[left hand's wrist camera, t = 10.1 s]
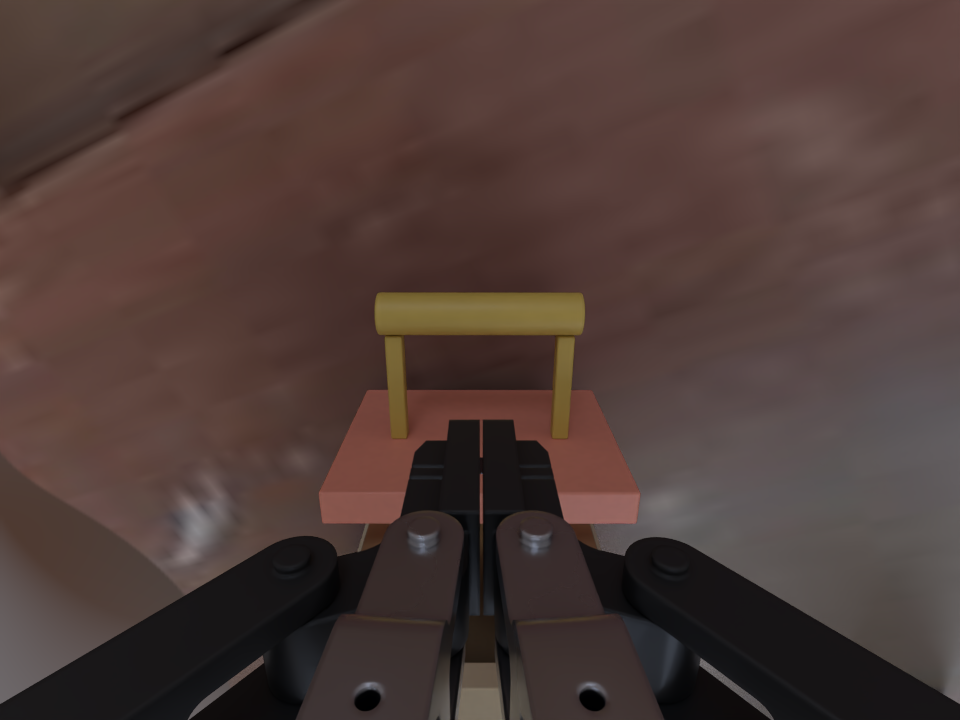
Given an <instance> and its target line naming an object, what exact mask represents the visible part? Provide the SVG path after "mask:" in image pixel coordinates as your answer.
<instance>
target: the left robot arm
mask: <svg viewBox="0 0 960 720" xmlns="http://www.w3.org/2000/svg"><path fill="white" fill-rule="evenodd" d="M483 615H494V620H495V663H496V671H497V680H498V689H499V697H500V706H501V714H502V720H770V719H769V718H768V717H767V716H765V715H764V714H763V713H761V712H760V711H759V710H757V709H756V708H755V707H753V706H752V705H751V704H749V703H748V702H747V701H745V700H744V699H743V698H741V697H740V696H739V695H738V694H736V693H735V692H734V691H732V690H731V689H730V688H728V687H727V686H726V685H724V684H723V683H722V682H720V681H719V680H718V679H716V678H715V677H714V676H713V675H711V674H710V673H709V672H707V671H706V670H705V669H703V668H702V667H701V666H699V664H700V658H702V659H703V660H705V661H706V662H707V663H709V664H710V665H711V666H713V667H714V668H715V669H717V670H718V671H720V672H721V673H722V674H724V675H725V676H726V677H728V678H729V679H730V680H732V681H733V682H734V683H736V684H737V685H738V686H740V687H741V688H742V689H744V690H745V691H746V692H748V693H749V694H750V695H752V696H753V697H754V698H756V699H757V700H758V701H759V702H761V703H762V704H763V705H764V706H765V708H766V709H767V710H768V711H769V712H770V714H771V715H772V717H773V718H774V720H960V704H959V703H957V702H955V701H953V700H952V699H950V698H948V697H947V696H945V695H943V694H942V693H940V692H938V691H936V690H935V689H933V688H931V687H930V686H928V685H926V684H925V683H923V682H921V681H919V680H918V679H916V678H914V677H913V676H911V675H909V674H907V673H906V672H904V671H902V670H901V669H899V668H897V667H896V666H894V665H892V664H890V663H889V662H887V661H885V660H884V659H882V658H880V657H879V656H877V655H875V654H873V653H872V652H870V651H868V650H867V649H865V648H863V647H862V646H860V645H858V644H856V643H855V642H853V641H851V640H850V639H848V638H846V637H845V636H843V635H841V634H839V633H838V632H836V631H834V630H833V629H831V628H829V627H827V626H826V625H824V624H822V623H821V622H819V621H817V620H816V619H814V618H812V617H810V616H809V615H807V614H805V613H804V612H802V611H800V610H799V609H797V608H795V607H793V606H792V605H790V604H788V603H787V602H785V601H783V600H782V599H780V598H778V597H776V596H775V595H773V594H771V593H770V592H768V591H766V590H765V589H763V588H761V587H759V586H758V585H756V584H754V583H753V582H751V581H749V580H747V579H746V578H744V577H742V576H741V575H739V574H737V573H736V572H734V571H732V570H730V569H729V568H727V567H725V566H724V565H722V564H720V563H719V562H717V561H715V560H713V559H712V558H710V557H708V556H707V555H705V554H703V553H702V552H700V551H698V550H696V549H695V548H693V547H691V546H689V545H687V544H685V543H682V542H680V541H677V540H673V539H669V538H661V537H650V538H644V539H641V540H638V541H636V542H634V543H633V544H632V545H630V546H629V548H628V549H627V551H626V554H625V556H622V555H618V554H614V553H609V552H605V551H601V550H598V549H595V548H592V547H590V546H588V545H586V544H584V543H582V542H581V541H579V540H578V539H577V537H576V534H575V532H574V530H573V528H572V527H571V525H570V524H569V523H567V522H566V521H565V520H564V518H563V513H562V509H561V505H560V501H559V496H558V492H557V488H556V483H555V479H554V475H553V471H552V468H551V462H550V458H549V453H548V451H547V450H546V449H545V448H544V447H543V446H542V445H541V444H540V443H539V442H538V441H537V440H516V435H515V427H514V420H513V419H483ZM469 616H480V420H449V425H448V434H447V440H426V441H425V442H424V443H423V444H422V445H421V446H420V447H419V448H418V449H417V450H416V451H415V453H414V457H413V462H412V468H411V471H410V475H409V480H408V484H407V488H406V493H405V497H404V502H403V506H402V511H401V515H400V517H399V518H398V519H396V520H395V521H394V522H393V523H391V524H390V525H389V527H388V528H387V530H386V532H385V534H384V537H383V539H382V542H381V543H380V544H378V545H376V546H374V547H372V548H369V549H367V550H363V551H360V552H355V553H351V554H347V555H342V556H338V557H337V553H336V550H335V548H334V547H333V545H332V544H330V543H329V542H328V541H326V540H324V539H321V538H318V537H313V536H299V537H293V538H288V539H285V540H282V541H279V542H277V543H274V544H273V545H271V546H269V547H267V548H265V549H264V550H262V551H260V552H258V553H257V554H255V555H253V556H252V557H250V558H248V559H247V560H245V561H243V562H241V563H240V564H238V565H236V566H235V567H233V568H231V569H230V570H228V571H226V572H224V573H223V574H221V575H219V576H218V577H216V578H214V579H213V580H211V581H209V582H207V583H206V584H204V585H202V586H201V587H199V588H197V589H196V590H194V591H192V592H190V593H189V594H187V595H185V596H184V597H182V598H180V599H179V600H177V601H175V602H173V603H172V604H170V605H168V606H167V607H165V608H163V609H161V610H160V611H158V612H156V613H155V614H153V615H151V616H150V617H148V618H146V619H145V620H143V621H141V622H139V623H138V624H136V625H134V626H133V627H131V628H129V629H127V630H126V631H124V632H122V633H121V634H119V635H117V636H116V637H114V638H112V639H110V640H109V641H107V642H105V643H104V644H102V645H100V646H99V647H97V648H95V649H93V650H92V651H90V652H88V653H87V654H85V655H83V656H82V657H80V658H78V659H76V660H75V661H73V662H71V663H70V664H68V665H66V666H65V667H63V668H61V669H59V670H58V671H56V672H54V673H53V674H51V675H49V676H47V677H46V678H44V679H42V680H41V681H39V682H37V683H36V684H34V685H32V686H30V687H29V688H27V689H25V690H24V691H22V692H20V693H18V694H17V695H15V696H13V697H12V698H10V699H8V700H7V701H5V702H3V703H1V704H0V720H188V718H189V716H190V714H191V713H192V712H193V710H194V709H195V708H196V706H197V705H198V704H199V703H200V702H201V701H202V700H203V699H205V698H206V697H207V696H208V695H210V694H211V693H212V692H214V691H215V690H216V689H218V688H219V687H220V686H222V685H223V684H224V683H226V682H227V681H228V680H230V679H231V678H232V677H234V676H235V675H236V674H238V673H239V672H241V671H242V670H243V669H245V668H246V667H247V666H249V665H250V664H251V663H253V662H254V661H255V660H257V659H258V658H259V657H261V656H262V655H263V658H264V663H263V664H262V665H261V666H259V667H258V668H257V669H255V670H254V671H253V672H251V673H250V674H249V675H248V676H246V677H245V678H244V679H242V680H241V681H240V682H238V683H237V684H236V685H234V686H233V687H232V688H230V689H229V690H228V691H226V692H225V693H224V694H222V695H221V696H220V697H219V698H217V699H216V700H215V701H213V702H212V703H211V704H209V705H208V706H207V707H205V708H204V709H203V710H201V711H200V712H199V713H197V714H196V715H195V716H194V717H192V718H191V719H190V720H458V714H459V706H460V697H461V689H462V680H463V671H464V663H465V643H466V641H467V638H468V634H469Z"/></svg>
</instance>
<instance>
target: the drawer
mask: <svg viewBox="0 0 960 720" xmlns="http://www.w3.org/2000/svg"><path fill="white" fill-rule="evenodd" d="M584 322H585V303H584V298H583V295H582V293H450V292H380V293H378V294H377V296H376V299H375V326H376V330H377V333H378V334H379V335H386V336H385V353H386V368H387V383H388V390H367V392H366V394H365V396H364V398H363V400H362V402H361V404H360V407H359V409H358V411H357V413H356V415H355V417H354V419H353V421H352V424H351V426H350V428H349V430H348V432H347V434H346V436H345V438H344V440H343V443H342V445H341V447H340V449H339V451H338V453H337V455H336V457H335V460H334V462H333V464H332V466H331V468H330V470H329V472H328V474H327V476H326V479H325V481H324V483H323V485H322V487H321V489H320V491H319V500H320V508H321V516H322V522H323V523H324V524H369V525H368V528H367V532H366V535H365V538H364V542H363V545H362V548H361V551H363V550H367V549H369V548H372V547H374V546H376V545H378V544H380V543H381V542H382V539H383V537H384V534H385V532H386V530H387V528H388V527H389V525H390V524H391V523H393V522H394V521H395V520H396V519H398V518H399V517H400V515H401V511H402V506H403V502H404V497H405V493H406V488H407V484H408V480H409V475H410V471H411V468H412V462H413V457H414V453H415V451H416V450H417V449H418V448H419V447H420V446H421V445H422V444H423V443H424V442H425V441H426V440H447V434H448V425H449V420H480V616H469V634H468V638H467V641H466V643H465V663H495V620H494V615H483V419H513V420H514V427H515V435H516V440H537V441H538V442H539V443H540V444H541V445H542V446H543V447H544V448H545V449H546V450H547V451H548V453H549V458H550V462H551V468H552V471H553V475H554V479H555V483H556V488H557V492H558V496H559V501H560V505H561V509H562V513H563V518H564V520H565V521H566V522H567V523H569V524H570V525H571V527H572V528H573V530H574V532H575V534H576V537H577V539H578V540H579V541H581V542H582V543H584V544H586V545H588V546H590V547H592V548H595V549H598V548H597V545H596V542H595V538H594V535H593V531H592V528H591V525H590V524H635V523H636V522H637V517H638V509H639V501H640V491H639V489H638V487H637V485H636V483H635V481H634V479H633V476H632V474H631V472H630V470H629V468H628V466H627V464H626V462H625V459H624V457H623V455H622V453H621V451H620V449H619V447H618V445H617V443H616V440H615V438H614V436H613V434H612V432H611V430H610V428H609V426H608V423H607V421H606V419H605V417H604V415H603V413H602V411H601V409H600V406H599V404H598V402H597V400H596V398H595V396H594V394H593V392H592V390H571V388H572V373H573V359H574V344H575V337H574V335H581V334H582V332H583V328H584ZM404 335H556V336H555V354H554V372H553V390H407V385H406V366H405V347H404Z"/></svg>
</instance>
